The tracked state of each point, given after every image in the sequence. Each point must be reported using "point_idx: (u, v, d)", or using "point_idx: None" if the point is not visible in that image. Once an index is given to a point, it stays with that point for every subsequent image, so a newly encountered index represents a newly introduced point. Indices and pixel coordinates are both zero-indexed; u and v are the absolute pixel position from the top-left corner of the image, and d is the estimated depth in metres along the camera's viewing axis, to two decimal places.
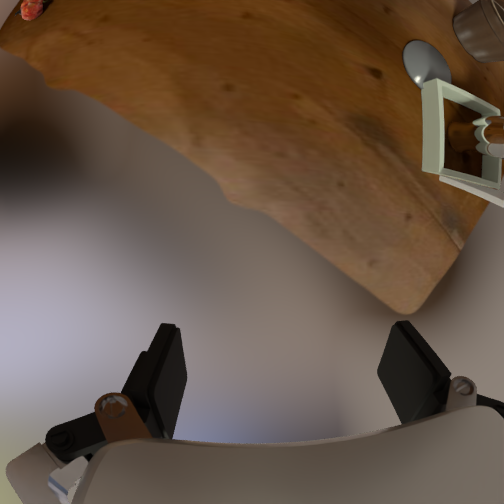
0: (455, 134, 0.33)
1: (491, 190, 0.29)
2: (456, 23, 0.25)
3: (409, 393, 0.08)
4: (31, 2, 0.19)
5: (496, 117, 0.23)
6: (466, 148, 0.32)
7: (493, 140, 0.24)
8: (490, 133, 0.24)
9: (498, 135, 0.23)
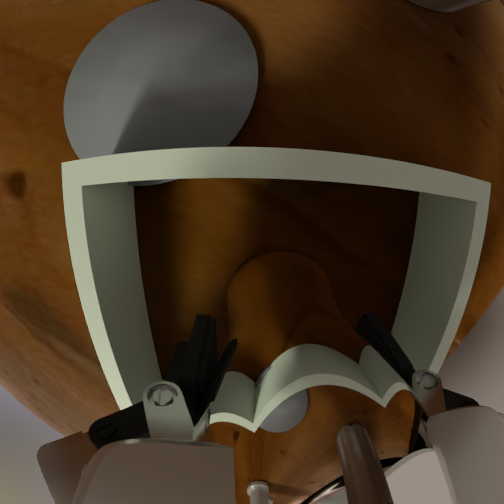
0: (229, 324, 0.13)
1: None
2: None
3: None
4: None
5: None
6: None
7: None
8: None
9: None
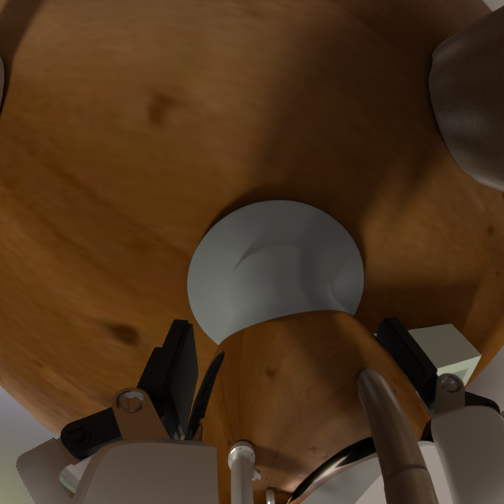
0: (231, 312, 0.14)
1: None
2: (439, 73, 0.11)
3: None
4: None
5: (218, 471, 0.03)
6: None
7: None
8: None
9: None
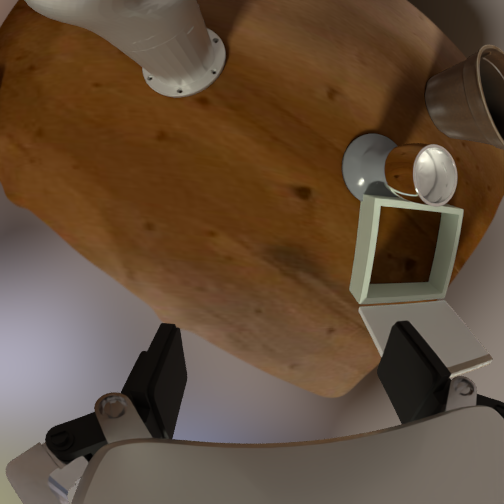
0: (367, 168, 0.34)
1: (418, 321, 0.34)
2: (428, 92, 0.31)
3: (409, 393, 0.08)
4: None
5: (409, 147, 0.24)
6: (380, 185, 0.33)
7: (401, 181, 0.25)
8: (397, 172, 0.25)
9: (405, 175, 0.24)
